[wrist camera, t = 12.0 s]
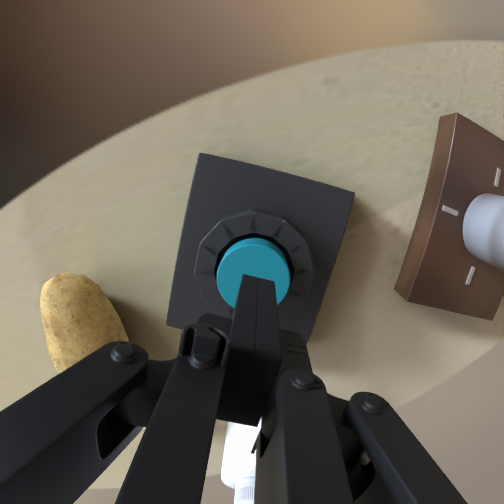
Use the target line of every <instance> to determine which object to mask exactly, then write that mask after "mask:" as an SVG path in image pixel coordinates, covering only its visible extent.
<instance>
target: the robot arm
mask: <svg viewBox="0 0 504 504" xmlns="http://www.w3.org/2000/svg"><path fill="white" fill-rule="evenodd" d="M216 419H219V420H224V421H228V422H233V423H238V424H243V425H248V426H254V427H258V424H259V421H260V419H261V429H260V431H259V433H258V436H257V438H256V441H255V443H254V445H253V448H252V450H251V453H252V454H254V453H255V450H256V468H255V492H254V504H467V502H466V501H465V500H464V498H463V497H462V496H461V494H460V493H459V492H458V491H457V490H456V488H455V487H454V485H453V484H452V483H451V482H450V480H449V479H448V478H447V477H446V475H445V474H444V473H443V472H442V470H441V469H440V468H439V466H438V465H437V464H436V462H435V461H434V460H433V459H432V457H431V456H430V455H429V454H428V452H427V451H426V450H425V448H424V447H423V446H422V445H421V443H420V442H419V441H418V440H417V438H416V437H415V436H414V435H413V433H412V432H411V431H410V429H409V428H408V427H407V426H406V425H405V423H404V422H403V421H402V420H401V418H400V417H399V416H398V414H397V413H396V412H395V411H394V409H393V408H392V407H391V406H390V404H389V403H388V402H387V401H386V400H385V399H383V398H382V397H380V396H378V395H377V394H373V393H370V392H358V393H355V394H354V395H353V396H352V397H351V399H350V401H346V400H343V399H340V398H337V397H334V396H332V395H330V394H328V393H327V391H326V387H325V385H324V383H323V381H322V380H321V379H320V378H319V377H318V376H316V375H314V374H313V372H312V368H311V363H310V359H309V356H308V350H307V346H306V342H305V340H304V339H303V337H302V336H301V335H300V334H299V333H297V332H292V331H288V330H283V329H280V328H279V318H278V308H277V298H276V289H275V281H271V280H267V279H263V278H259V277H255V276H251V275H247V274H243V275H242V279H241V283H240V287H239V291H238V295H237V299H236V303H235V307H234V311H233V315H232V319H231V318H227V317H223V316H219V315H215V314H211V313H205V314H203V315H202V316H200V317H199V318H198V320H197V323H196V324H190V325H187V326H186V327H185V328H184V329H183V330H182V335H181V341H180V347H179V353H178V356H177V358H175V359H172V360H150V359H148V354H147V352H146V351H145V350H144V349H143V348H142V347H140V346H139V345H137V344H134V343H131V342H127V341H113V342H110V343H107V344H105V345H103V346H102V347H100V348H99V349H97V350H95V351H94V352H92V353H91V354H89V355H88V356H86V357H85V358H83V359H81V360H80V361H78V362H77V363H75V364H74V365H72V366H71V367H69V368H67V369H66V370H64V371H63V372H61V373H60V374H58V375H57V376H55V377H53V378H52V379H50V380H49V381H47V382H46V383H44V384H43V385H41V386H39V387H38V388H36V389H35V390H33V391H32V392H30V393H29V394H27V395H25V396H24V397H22V398H21V399H19V400H18V401H16V402H15V403H13V404H11V405H10V406H8V407H7V408H5V409H4V410H2V411H1V412H0V504H73V503H74V502H75V501H76V500H77V499H78V498H79V497H80V496H81V495H82V494H83V493H84V491H86V490H87V489H88V487H89V486H90V485H91V484H92V483H93V482H94V481H95V480H96V479H97V478H98V477H99V476H100V475H101V474H102V473H103V472H104V471H105V469H106V468H107V467H108V466H109V465H110V464H111V463H112V462H113V461H114V460H115V459H116V458H117V457H118V455H119V454H120V453H121V452H122V451H123V450H124V449H125V448H126V447H127V446H128V445H129V443H130V442H131V441H132V440H133V439H134V438H135V437H136V436H137V435H138V434H139V432H140V431H141V430H142V428H143V427H146V430H145V432H144V434H143V437H142V439H141V441H140V444H139V446H138V448H137V451H136V453H135V456H134V458H133V460H132V463H131V465H130V468H129V470H128V472H127V475H126V477H125V480H124V482H123V485H122V487H121V490H120V492H119V494H118V497H117V500H116V502H115V504H200V503H201V497H202V492H203V486H204V481H205V475H206V470H207V464H208V459H209V453H210V448H211V443H212V437H213V432H214V426H215V421H216ZM366 453H367V455H368V457H369V458H370V460H371V461H370V462H369V463H366V462H365V460H364V459H363V457H364V455H365V454H366Z"/></svg>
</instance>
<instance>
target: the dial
mask: <svg viewBox="0 0 504 504" xmlns="http://www.w3.org/2000/svg"><path fill="white" fill-rule="evenodd" d="M463 239H464V243H465V246H466V248H467V250H468V251H469V253H470V254H471V255H472V256H473V257H475V258H477V259H479V260H481V261H483V262H485V263H487V264H489V265H491V266H493V267H495V268H497V269H499V270H501V271H503V272H504V196H501V195H496V194H490V193H485V194H481V195H479V196H477V197H476V198H475V199H474V200H473V201H472V202H471V203H470V205H469V207H468V208H467V211H466V213H465V216H464V220H463Z"/></svg>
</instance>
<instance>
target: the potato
mask: <svg viewBox="0 0 504 504" xmlns="http://www.w3.org/2000/svg"><path fill="white" fill-rule="evenodd" d="M40 309H41V315H42V320H43V326H44V330H45V335H46V339H47V345H48V350H49V355H50V358H51V360H52V362H53V364H54V366H55V368H56V369H57V371H58V372H59V373H61V372H63V371H64V370H66V369H67V368H69V367H71V366H72V365H74V364H75V363H77V362H78V361H80V360H81V359H83V358H85V357H86V356H88V355H89V354H91V353H92V352H94V351H95V350H97V349H99V348H100V347H102V346H103V345H105V344H107V343H110V342H113V341H127V342H129V339H128V337H127V334H126V332H125V329H124V327H123V324H122V322H121V319H120V317H119V315H118V313H117V312H116V310H115V309H114V307H113V305H112V304H111V302H110V300H109V299H108V298H107V296H106V295H105V294H104V292H103V291H102V290H101V288H100V287H99V285H97V284H96V283H95V282H93V281H92V280H91V279H89V278H88V277H87V276H86V275H76V274H70V273H65V272H62V273H60V274H58V275H56V276H54V277H53V278H52V279H50V280H49V281H47V282H46V283H45V284H44V286H43V288H42V291H41V299H40Z"/></svg>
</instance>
